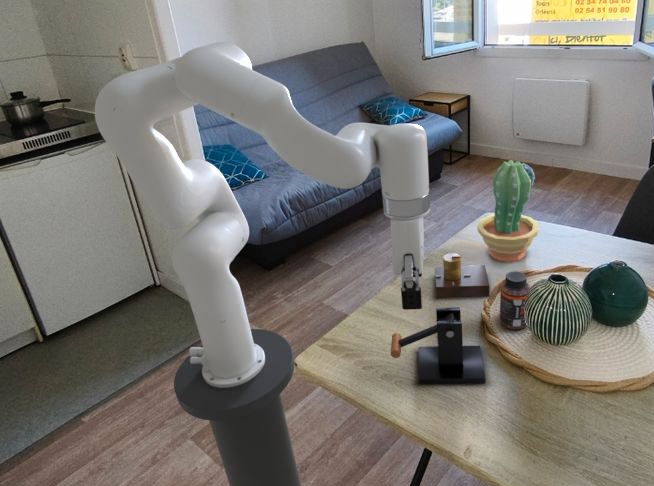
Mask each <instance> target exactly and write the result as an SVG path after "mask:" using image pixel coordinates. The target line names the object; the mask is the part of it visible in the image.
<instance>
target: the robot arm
mask: <svg viewBox="0 0 654 486" xmlns="http://www.w3.org/2000/svg"><path fill="white" fill-rule="evenodd" d="M291 98H292V97H291V95H290V91H289V90H288V88H287V87H286V86H285V85H284V84H282V83H281V82H279V81H277V80H274V79H272V78H271V77H269V76H267V75H264V74H262V73H260V72H259V71H258V72H257V71H256V70H254V69H253V67H252V63H251V60H250V58H249V56H248V55H247V53H246V52H245V51H244V50H243V49H242V48H240V47H239V46H237V45H235V44H233V43H230V42H225V41H218V42H213V43H209V44H204V45H202V46H198V47H195V48H192V49H190V50H188V51H187V52H185V53H184V54H183V55H181V56H180V57H177V58H174V59H171V60H168V61H165V62H162V63H158V64H154V65H150V66H147V67H144V68H139V69H136V70H133V71H128V72H126V73H123V74H121V75H119V76H117V77H115V78H113V79H112V80H110V81H109V82H107V83H106V84H105V85H104V86H103V87H102V89H101V90H100V91H99V93H98V95H97V97H96V99H95V104H94V119H95V124H96V127H97V129H98V131H99V133H100V135H101V137H102V138H103V140H104V141H105V142H106V144H107V146H108V147H109V148H110V150H111V151H112V153H114V154H115V156H116V157H117V158H118V160H119V161H120V162H121V164H122V165H123V167H124V168H125V170H126V172H127V174H128V175H129V177H130V180H131V181H132V183H133V184H134V186H135V187H136V189H137V191H138V193H139V195H140V196H141V198H142V199H143V201H144V203H145V204H146V206H147V208H148V209H149V211H150V213H151V214H152V216H153V217H154V219H155V220H156V221H157V223H159V224H160V225H161V226H162V227H164V228H166V229H169V230H179V229H182V228H184V227H186V226H188V225H189V224H191V223H193V222H194V221H195V220H196V219H198V220H199V221H198V222H197V223H196V224H195V225H193V226H192V227H191V228H190V229H189V230H188V231H186V233H184V234H183V235H182V236H181V238H179V240H178V241H177V243H176V244H175V246H174V247H173V250H172V253H171V264H172V268H173V269H174V272H175V273H176V276H177V277H178V279H179V281H180V282H181V284H182V286H183V288H184V291H185V293H186V296H187V298H188V301H189V305H190V308H191V311H192V314H193V317H194V321H195V325H196V327H197V331H198V334H199V338H200V341H201V345H203V348H200V346H192V347H190V348H189V350H188V356H190V357H191V358H190V363H191V364H198V363H201V364H202V365H203V367H202V374H203V378H204V380H205V381H206V382H207V383H208V384H209V385H211V386H214V387H218V388H229V387H234V386H238V385H241V384H243V383H245V382H247V381H249V380H251V379H252V378H253V377H255V376H256V375H257V374H258V373H259V372H260V371H261V369H262V368H263V366H264V363H265V355H264V351H263V349H262V348H261V347H260V346H258V345H257V344H254V342H253V338H252V333H251V329H252V328H251V325H250V321H249V318H248V313H247V309H246V304H245V300H244V297H243V294H242V289H241V287H240V283H239V281H238V280H237V278H236V277H234V275H233V274H232V272H231V270H230V265H231V263H232V262H233V261H234V260H235V258H236V256H237V255H238V254H239V253H240V252H241V250H242V249H243V248H244V247H245V246H246V244H247V243H248V241H249V237H250V227H249V223H248V220H247V217H246V216H245V214H244V213H243V210H242V208H241V206H240V204H239V203H238V201H237V199H236V197H235V195H234V193H233V191H232V189H231V187H230V185H229V183H228V182H227V180H226V178H225V176H224V175H223V174H222V172H221V171H220V170H219V169H218V168H217V167H216V166H215V165H214V164H213V163H211V162H209V161H207V160H204V159H200V158H191V159H188V160H185V161H183V162H182V160H181V158H180V156H179V155H178V153H177V151H176V149H175V147H174V145H173V144H172V143H171V142H170V141H169V139H168V138H166V137H165V135H163V134H162V133H161V132H159V131H158V130H156V129H155V128H154V125H155V124H156V123H158V122H160V121H162V120H165V119H167V118H170V117H172V116H174V115H176V114H178V113H180V112H182V111H184V110H187V109H190V108H192V107H195V106H198V105H200V106H201V107H204V108H206V109H208V110H210V111H212V112H214V113H216V114H218V115H220V116H222V117H223V118H226V119H227V120H230V121H232V122H233V123H236V124H238V125H240V126H243V127H244V128H246V129H248V130H251V131H252V132H253V133H256V134H258V135H260V136H261V137H262V138H263V139H264V140H265V142H266V144H267V145H268V146H269V147H270V149H272V150H273V151H274V153H276V155H278V157H279V158H281V159H282V160H283V162H284V163H286V164H287V165H289V166H290V167H292V168H293V169H294V170H296V171H298V172H300V173H302V174H304V175H306V176H308V177H310V178H312V179H314V180H316V181H318V182H320V183H322V184H325V185H327V186H330V187H333V188H337V189H344V190H348V189H353V188H356V187H358V186H360V185H361V184H363V183H364V182H365V181H366V180H367V178H368V177H369V175H370V174H371V171H372V170H373V169H375V168H378V169H379V175H380V183H381V184H380V186H381V197H382V206H383V214H384V215H385V217H387V218H389V219H390V220H389V223H390V226H389V228H390V245H391V246H390V247H391V261H392V274H393V275H394V276H400V275H401V288H400V293H401V306H402V310H407V311H409V310H421V309H423V303H422V302H423V300H422V287H421V286H420V278H422V276H423V274H422V273H423V267H424V253H425V229H424V227H425V226H424V217H425V216H427V215H428V214H429V213H430V212H431V197H430V194H431V193H430V177H429V176H430V175H429V154H428V138H427V132H426V130H425V129H424V128H423V126H420V125H418V124H415V123H396V124H390V125H387V124H377V123H368V122H352V123H349V124H347V125H344V126H343V127H342V128H341V129H340V130H339V132H338V133H336V134H335V135H334V134H332V133H330V132H328V131H326V130H324V129H322V128H321V127H318V126H316V125H314V124H313V123H311V122H310V121H308V120H307V119H306V118H305V117H303V115H301V114H300V113H299V112H298V110H297V109H296V107H295V106H294V104H293V101H292V99H291ZM414 278H415V280H414ZM199 356H202V357H199Z"/></svg>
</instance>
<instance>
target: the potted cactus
mask: <svg viewBox="0 0 654 486" xmlns="http://www.w3.org/2000/svg"><path fill="white" fill-rule="evenodd" d="M535 174H536V173H535V172H534V170H533V168H532V167H531V166H529V164H526V163H524V162H523V163H521V162H520V160H517V161H515V162H514V160H512V159H509V160H508V161H506V160H505V161H503V162H502V163H501V164H500V166H499V167H498V168H497V169H496V170H495V171H494V174H493V175H492V188H493V189H492V192H493V197H494V199H495V205H494V206H495V207H494V213H493V214H489V215H486V216H485V217H483V218H481V219H479V220H478V222H477V223H478V224H477V225H476V230H477V232H478V234H479V235H480V236H481V237H482V239H483V243H484V244H485V245H486V246H487V247H488V249H489V250H490V251H489V255H490V256H491V257H492V259H495V260H498V261H500V262H509V263H510V262H511V263H512V262H516V261H520V260H521V259H523V258H524V257H525V254H526V251H527V249H528V248H529V247H530V246H531V244H532V242H533V240H534V238H536V237H537V236H538V233H539V227H540V226H539V223H538V222H537V220H535V219H534V218H532V217H531V216H527V215H525V214H523V211H524V208H525V206H526V204H527V201H528V200H529V198H530V196H531V188H532V186H534V182H535V180H536V176H535Z"/></svg>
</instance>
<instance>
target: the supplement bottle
mask: <svg viewBox="0 0 654 486" xmlns="http://www.w3.org/2000/svg"><path fill="white" fill-rule="evenodd" d="M531 288H532V287H531V286H530V284H529V283H528V282H527V275H526V274H525V273H524V272H522V271H518V270H517V271H516V270H512V271H509V272H507V273H506V274H505V280H503V282H502V283H501V285H500V293H499V294H500V298H499V319H500V323H501V324H502V325H503V326H504V327H506V328H507V329H510V330H523V329H524V328H526V327H527V326H528V325H526V323H525V318H524V302H525V299H526V296H527V294H528V292H529V291H530V289H531Z"/></svg>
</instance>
